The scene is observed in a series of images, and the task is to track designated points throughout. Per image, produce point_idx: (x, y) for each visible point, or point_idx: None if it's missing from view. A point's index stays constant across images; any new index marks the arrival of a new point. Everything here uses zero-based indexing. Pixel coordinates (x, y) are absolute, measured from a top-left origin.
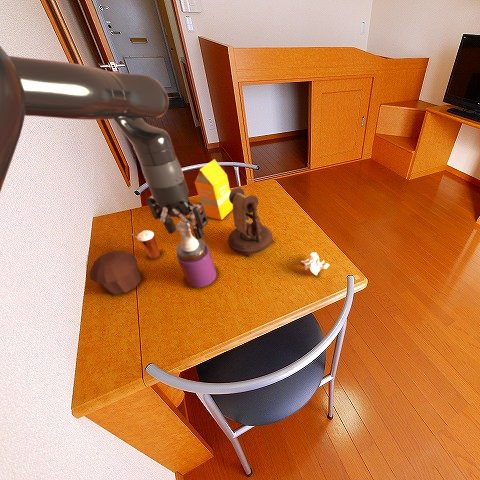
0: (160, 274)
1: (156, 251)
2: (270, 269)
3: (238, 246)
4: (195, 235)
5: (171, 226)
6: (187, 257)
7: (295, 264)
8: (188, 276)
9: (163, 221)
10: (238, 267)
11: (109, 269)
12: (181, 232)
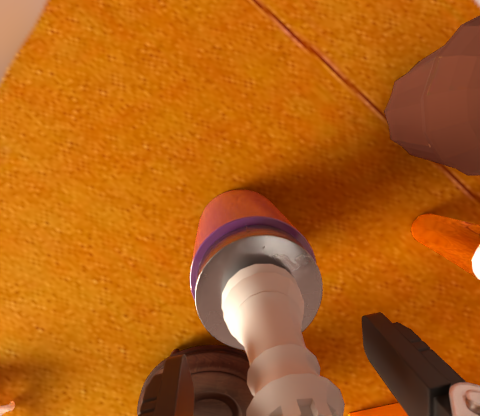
0: (355, 181)
1: (425, 235)
2: (85, 340)
3: (204, 367)
4: (173, 384)
5: (389, 367)
6: (227, 242)
7: (35, 386)
8: (239, 199)
9: (463, 396)
10: (172, 304)
11: None
12: (282, 359)
